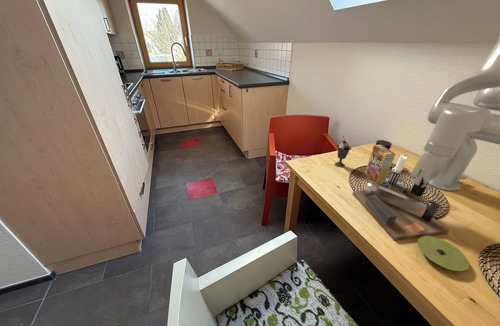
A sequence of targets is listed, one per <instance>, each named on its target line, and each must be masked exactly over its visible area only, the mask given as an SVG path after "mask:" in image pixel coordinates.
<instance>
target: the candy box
mask: <svg viewBox="0 0 500 326" xmlns="http://www.w3.org/2000/svg"><path fill="white" fill-rule="evenodd" d="M395 157H396V153H394V151H392V150H391V149H390V150H389V149H387V148H386V147H385V146H384V145H375V144H374V145H373V147H372V151H371V153H370V157H369V161H368V163H367V167H366V169H365V172H364V174H365V175H366V176H367V177H368V178H369V179H370V181H372V182H376V183H377V184H378V185H382V184H381V183H385V181H386V179H387V176H388V174H389V172H390V169H391V168H392V165H393V161H394V159H395Z"/></svg>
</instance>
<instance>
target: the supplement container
mask: <svg viewBox="0 0 500 326" xmlns="http://www.w3.org/2000/svg"><path fill="white" fill-rule="evenodd" d="M374 145H384V146H385V147H386V148H387V149H389V150H390V151H391V147H392V142H390V141H387V140H382V139H378V140H376V142H375V144H374Z"/></svg>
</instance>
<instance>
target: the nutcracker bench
mask: <svg viewBox="0 0 500 326" xmlns="http://www.w3.org/2000/svg"><path fill="white" fill-rule="evenodd" d="M385 188H386V189H389V190H391V191H394V192H396V193H399V194H401V195H404V196H406V197H408V196H407V195H406V194H404V193H403V192H402V191H401V190H399V189H398V188H397V187H396V186H395V187H385ZM364 191H365V189H364V190H363V189H362V190H354V191H352V196H353V197H354V198H355V199H356V200H357V201H358V202H359V204H360V205H361V206H362V207H363V209H364V210H366V212H368V213H369V214H370V216H371V217H372V218H373V220H375V221H376V222H377V223H378V225H379V226H380V227H381V228H382V229H383V230H384V231H385V232H386V234H387V235H388V236H389V237H390V238H391V239H392V240H393V241H401V240H408V239H409V240H411V239H416V238H417V239H419V238H420V237H423V236H432V237H435V236H439V235H447V234H448V233H449V232H450V229H448V228H447V227H446V226H445V225H444V224H442V223H441V222H440V221H439V220H437V219H436V218H434V217H433V218H432V220H431V221H425V220H423V219H422V218H421V217H419V216H417V215H414V214H412V213H410V212H408V211H405V210H403V209H401V208H398V207H396V206H394V205H392V204H389V203H387V202H385V201H383V200H380V199H379V198H378V197H377V196H376V195H368V196H367V195H366V194H365V193H364Z"/></svg>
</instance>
